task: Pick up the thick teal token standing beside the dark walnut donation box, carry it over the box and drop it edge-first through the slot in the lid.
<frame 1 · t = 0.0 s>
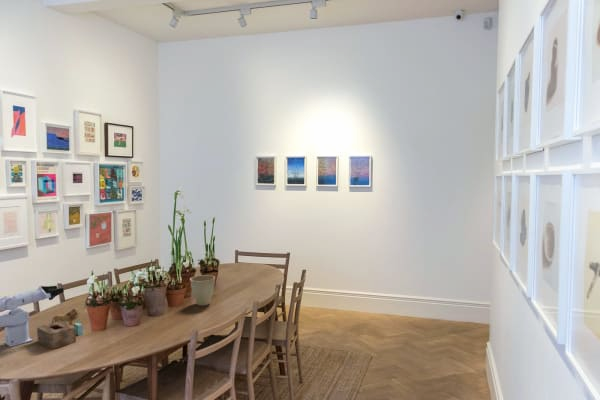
hand: (60, 288, 225), 22 cm above the table, tool horizontal, fingers open, 7 cm apart
donation box: (56, 341, 211), on the table
token: (78, 333, 221), on the table
lion figurine: (65, 326, 233), on the table
plant pot: (203, 304, 269), on the table
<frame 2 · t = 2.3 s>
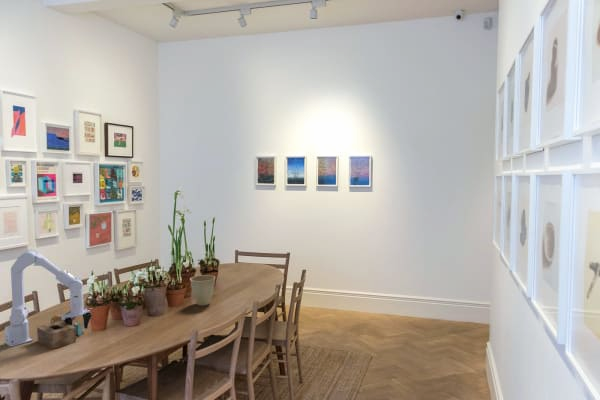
hand: (78, 330, 221), 2 cm above the table, tool pointing down, fingers open, 7 cm apart
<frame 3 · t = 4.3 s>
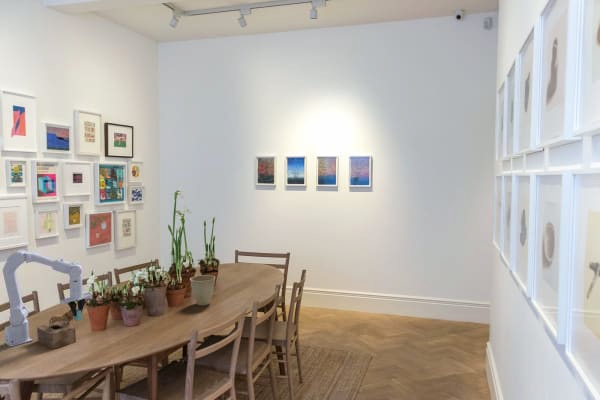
hand: (77, 315, 220), 9 cm above the table, tool pointing down, fingers closed on token
token: (77, 319, 221), point 7 cm above the table, touching gripper
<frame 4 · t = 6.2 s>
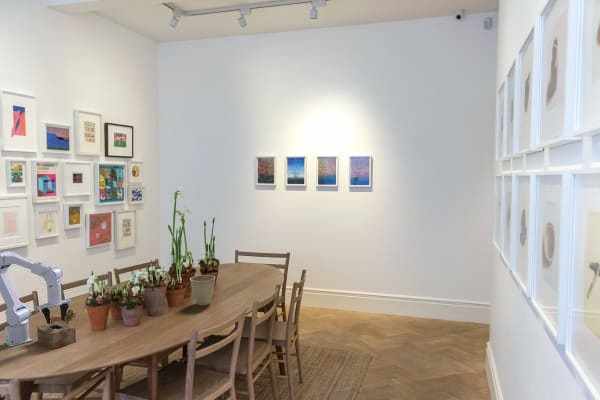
hand: (55, 321, 211), 10 cm above the table, tool pointing down, fingers open, 6 cm apart
token: (56, 340, 211), resting on donation box
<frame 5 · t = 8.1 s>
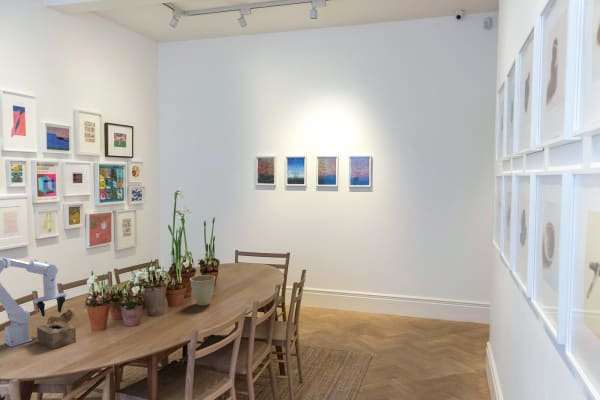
hand: (51, 313, 223), 9 cm above the table, tool pointing down, fingers open, 7 cm apart
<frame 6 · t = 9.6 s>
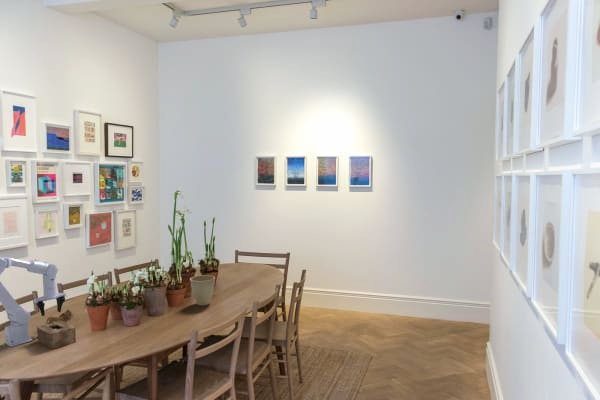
hand: (51, 313, 224), 9 cm above the table, tool pointing down, fingers open, 7 cm apart
at the end: token inside the target area on the donation box (0.1 cm from its centre), point 0.5 cm above the donation box's base; the gripper is holding nothing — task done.
